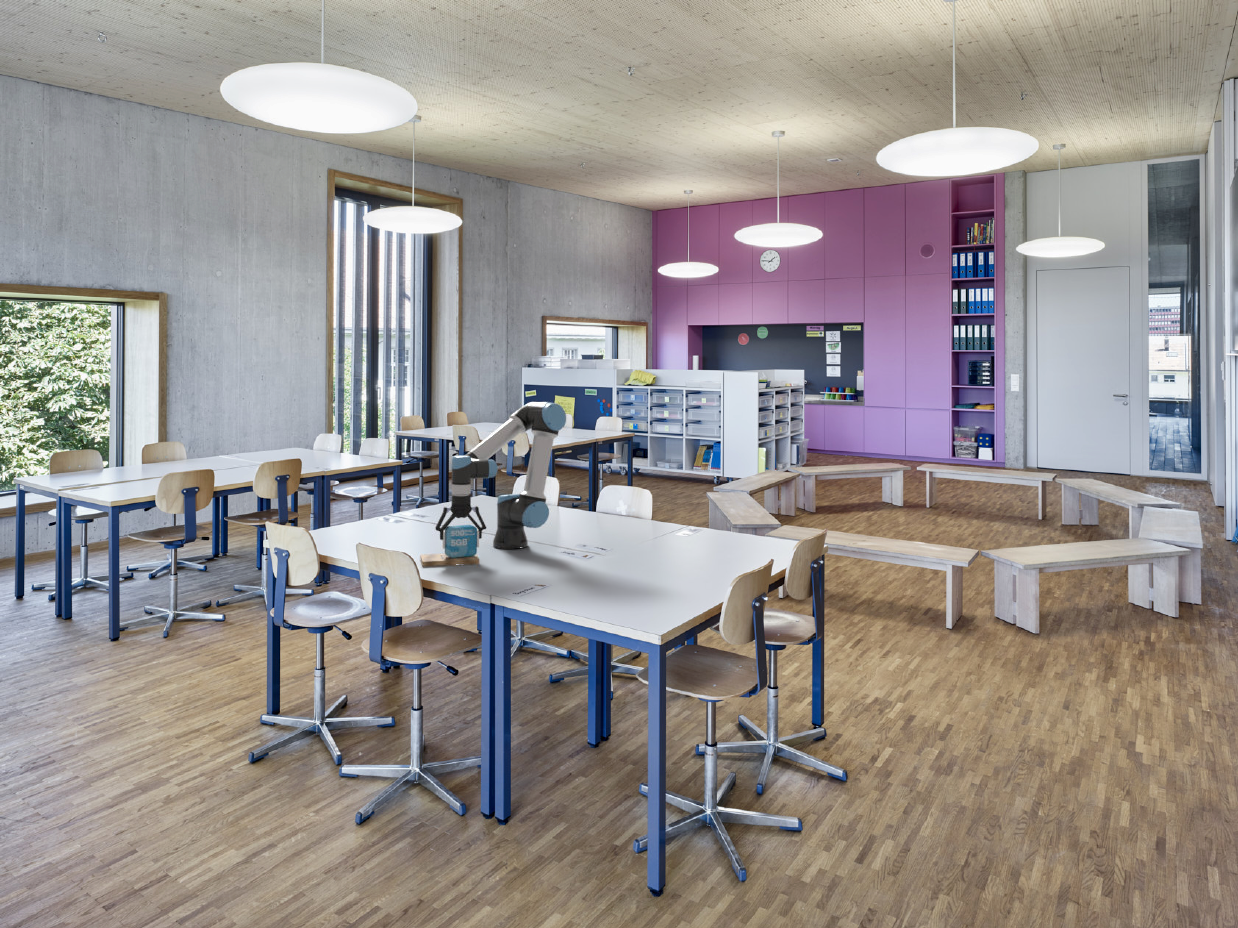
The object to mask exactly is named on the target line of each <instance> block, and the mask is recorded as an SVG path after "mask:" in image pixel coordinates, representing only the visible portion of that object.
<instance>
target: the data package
mask: <svg viewBox="0 0 1238 928" xmlns="http://www.w3.org/2000/svg"><path fill="white" fill-rule="evenodd" d="M477 530H478V528H477V527H476V526H475V525H474V526H473V525H471V524H463V525H448V526H447V528H446V529H445V530H444V531H445V549H444V554H446V555H447V556H449V557H451V558H455V557H466V556H474V555H475V554H476V555H477V554H478V553H477V552H478V551H477V550H478V547H477Z"/></svg>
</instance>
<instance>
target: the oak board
mask: <svg viewBox="0 0 1238 928" xmlns="http://www.w3.org/2000/svg"><path fill="white" fill-rule="evenodd" d="M419 558H420V559H421V560H420V563H421V562H422V563H421V565H422V567H423V566H428V567H437V566H436V565H451V566H457V565H456V564H475V565H480V558H479V557H478V555H477V553H476V554H475V555H474V556H466V557H455V558H451V557H449V556H447V555H446V554H445V553H432V554H430V553H429V554H420V556H419Z"/></svg>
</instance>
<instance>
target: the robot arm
mask: <svg viewBox="0 0 1238 928" xmlns="http://www.w3.org/2000/svg"><path fill="white" fill-rule="evenodd" d="M566 422H567V414H566V411H565V410H564V407H562V405H560V404H558V403H555V402H552V401H551V402H550V401H531V402H527V403H526V404H524V405H523V406H521V407H520V408H518V409H517V410H516V411H514V412H513V413H512V414H510V415H509V417H508V420H507V421H505V422H504V423H503V424H502V425H500V426H499V427H498V428H497V429H496V430H494V431H493V432H492V433H491V434H490V435H488V436H487V437H486V438H484V439H483V440H482V441H480V443H478V444H477V445H476V446H474V447H473V448H472V449H471V450H469V451H468V452H467V453H466V454H464V455H454V456H453V457H452V459H451V467H450V468H451V494H452V495H451V506H450V507H447V506H443V507H442V508H443V509H442V510H443V511H442V512H441V513H442V514H441V516H440V517H439V520H438V521H437V524H436V526H435V531H436V532H437V531H438V532H439V539H440V541H442V549H444V550H445V529H446V528H447V527H448V526H450V524H451V523H452V522H453V520H454V519H456V518H457V519H460V518H461V519H466V518H468V519H469V520H470V521H471V523H472V524H473V525H474V527H476V528H477V548H480V539H482V537H483V536H482V535H483V530H486V529H487V526H486V523H485V521H484V520H483V517H482V516H481V513H480V509H479V506H477V505H475V506H472V505H471V503H472V502H471V499H472V497H471V493H472V487H471V485H472V483H471V482H472V480H475V479H477V480H478V479H489V478H494V477H496V475H497V473H498V464H497V462H496V461H495V460H494V459H490V458H491V457H493V455H495V454H497V452H498V451H500V450H501V449H502V448H504V447H505V446H506V445H507V444H509V443H510V442H511V441H512V440H513V439H515V438H516V437H517V436H519V434H522V435H523V434H525V433H526V432H527V431H529V430H530V432H531V433H532V435H533V440H532V445H531V450H530V456H529V461H528V465H527V471H526V476H525V483H524V488H523V490H522V491H521V492H520V493H510V494H501V495H499V496H498V498H497V504H496V506H497V507H496V509H497V510H496V511H497V512H496V513H497V515H496V516H497V519H496V522H497V523H496V524H497V525H496V526H497V528H496V530H495V531H496V532H495V534H494V538H493V541H492V546H493V547H494V548H496V547H498V548H497V549H500V548H502V550H515V549H514V548H520V547H525V548H527V547H528V546H529V545H528V544H529V543H528V541H529V540H528V538H527V536H526V531H525V528H524V527H526V528H530V529H532V528H533V529H537V528H540V527H542V526H543V525H544V524H546V522H547V521H548V519H549V515H550V508H548V507H549V506H548V505H547V496H546V495H545V488H546V484H547V476H548V472H549V466H550V460H551V455H552V451H553V450H552V449H553V444H554V439H556V438H557V437H558V436H559V431H560V430H562V429H563V428H564V427H565V426H566V424H567V423H566ZM472 511H473V512H474V513H475V514H476V516H477V518H478V521H479V522H480V524H481V526H480V525H479V524H478V522H477V521H476V520H475V519H474V517H473V516H472V515H471V514H470V513H471V512H472ZM449 512H451V515H450V516H449V517H448V519H447V520H446V521H445V522H444V520H445V517H446V515H447V513H449ZM443 522H444V523H443ZM442 524H443V525H442ZM527 545H528V546H527ZM526 546H527V547H526ZM520 549H521V548H520Z"/></svg>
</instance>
